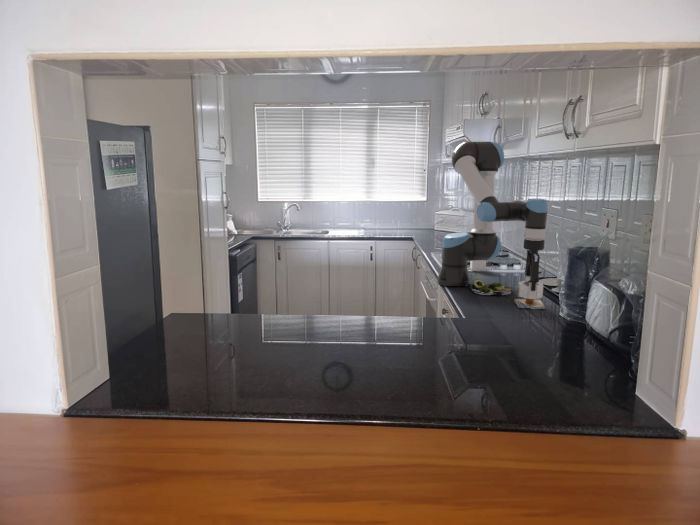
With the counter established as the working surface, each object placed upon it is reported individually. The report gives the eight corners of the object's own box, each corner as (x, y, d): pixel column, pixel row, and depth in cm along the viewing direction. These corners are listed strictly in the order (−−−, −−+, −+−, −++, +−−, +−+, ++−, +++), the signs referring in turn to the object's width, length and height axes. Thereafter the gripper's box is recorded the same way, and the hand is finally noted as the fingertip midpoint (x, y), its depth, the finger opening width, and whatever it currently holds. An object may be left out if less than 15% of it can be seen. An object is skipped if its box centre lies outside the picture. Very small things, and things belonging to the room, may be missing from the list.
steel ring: (519, 298, 197) (520, 285, 196) (516, 292, 205) (517, 280, 204) (543, 299, 195) (544, 286, 194) (539, 293, 204) (540, 281, 203)
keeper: (517, 308, 197) (519, 288, 195) (514, 301, 207) (515, 282, 205) (544, 310, 195) (546, 290, 194) (540, 302, 205) (541, 283, 203)
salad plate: (511, 287, 231) (511, 277, 230) (520, 298, 213) (520, 287, 212) (468, 286, 232) (468, 276, 232) (473, 296, 215) (474, 286, 214)
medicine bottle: (483, 268, 269) (484, 246, 266) (485, 271, 262) (487, 248, 259) (469, 268, 269) (471, 245, 267) (471, 270, 262) (473, 248, 260)
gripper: (550, 243, 184) (545, 303, 189) (539, 235, 205) (535, 288, 210) (528, 243, 186) (524, 302, 190) (520, 234, 207) (516, 287, 211)
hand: (529, 295), depth 200 cm, fingers closed on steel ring, 9 cm apart
